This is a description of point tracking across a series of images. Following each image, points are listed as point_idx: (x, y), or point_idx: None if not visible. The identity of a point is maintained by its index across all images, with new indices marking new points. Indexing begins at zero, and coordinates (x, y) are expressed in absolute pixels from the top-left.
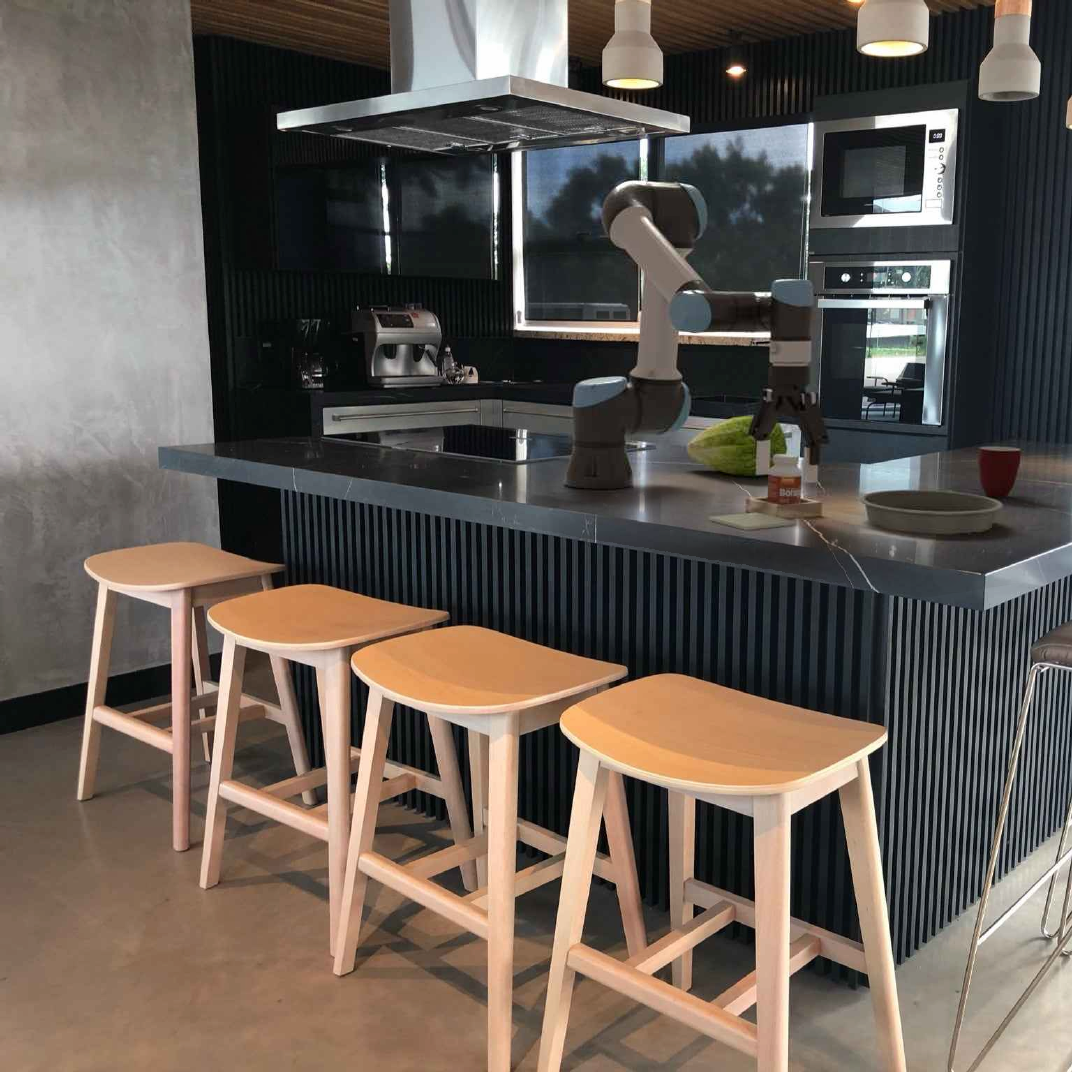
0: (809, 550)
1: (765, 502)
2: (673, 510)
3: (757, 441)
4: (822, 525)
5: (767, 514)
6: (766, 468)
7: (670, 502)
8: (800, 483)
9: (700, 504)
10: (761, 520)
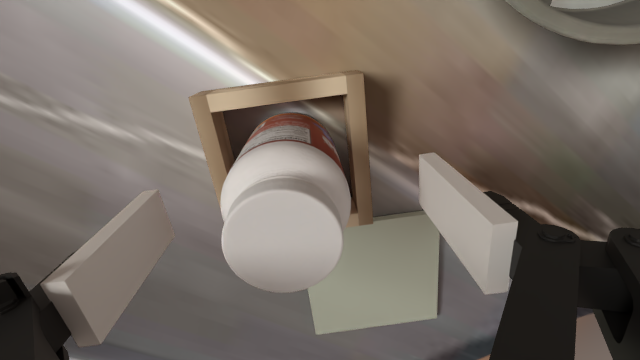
0: None
1: None
2: (184, 343)
3: (86, 344)
4: (472, 154)
5: None
6: (152, 213)
7: None
8: (335, 155)
9: None
10: (393, 268)
